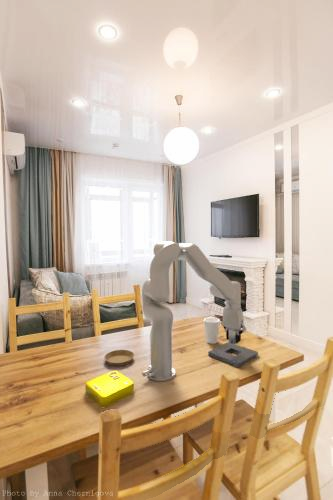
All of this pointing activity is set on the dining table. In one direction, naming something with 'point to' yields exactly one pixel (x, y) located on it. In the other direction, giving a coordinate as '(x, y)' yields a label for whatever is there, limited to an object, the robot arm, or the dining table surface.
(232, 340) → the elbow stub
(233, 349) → the flange
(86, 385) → the element tile
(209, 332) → the foam cup
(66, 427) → the dining table surface
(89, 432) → the dining table surface
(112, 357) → the plant saucer
